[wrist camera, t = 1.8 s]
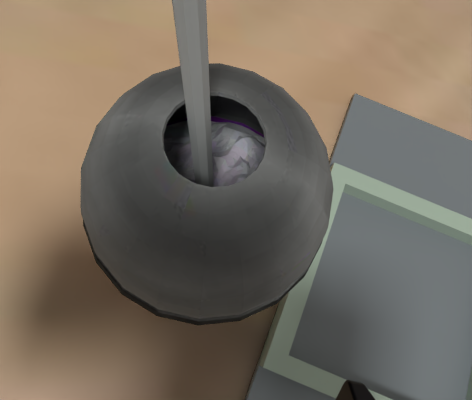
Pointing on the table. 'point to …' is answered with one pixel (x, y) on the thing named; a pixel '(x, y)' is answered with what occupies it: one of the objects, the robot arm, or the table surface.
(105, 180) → the beverage cup
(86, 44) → the table surface
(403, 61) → the table surface
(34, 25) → the table surface
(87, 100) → the table surface
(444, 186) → the socket board
